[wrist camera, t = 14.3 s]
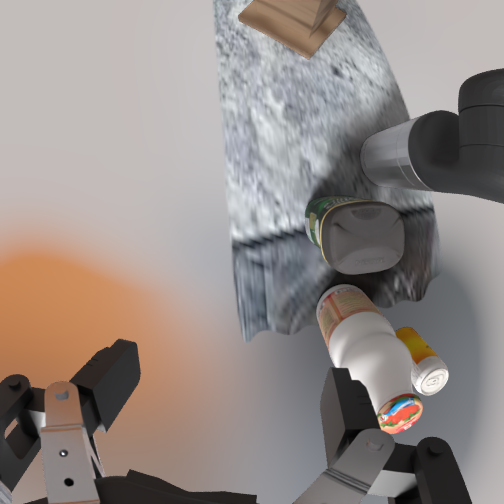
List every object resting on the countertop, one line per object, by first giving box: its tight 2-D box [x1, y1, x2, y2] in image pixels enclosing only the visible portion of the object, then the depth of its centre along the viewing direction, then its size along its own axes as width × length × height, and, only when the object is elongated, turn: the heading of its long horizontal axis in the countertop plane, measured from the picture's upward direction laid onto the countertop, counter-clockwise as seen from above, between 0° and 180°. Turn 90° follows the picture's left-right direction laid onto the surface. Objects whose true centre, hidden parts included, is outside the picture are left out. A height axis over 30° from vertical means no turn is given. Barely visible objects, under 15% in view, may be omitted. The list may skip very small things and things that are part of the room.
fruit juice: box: [316, 284, 423, 434], centre depth 37 cm, size 9×9×28 cm
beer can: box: [395, 327, 448, 395], centre depth 44 cm, size 6×6×15 cm
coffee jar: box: [305, 196, 405, 275], centre depth 38 cm, size 10×8×19 cm
